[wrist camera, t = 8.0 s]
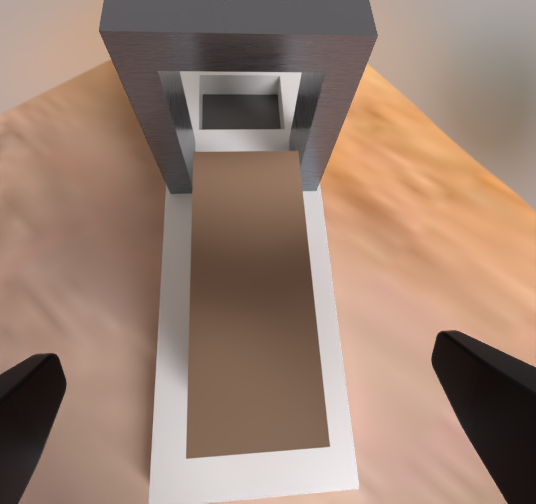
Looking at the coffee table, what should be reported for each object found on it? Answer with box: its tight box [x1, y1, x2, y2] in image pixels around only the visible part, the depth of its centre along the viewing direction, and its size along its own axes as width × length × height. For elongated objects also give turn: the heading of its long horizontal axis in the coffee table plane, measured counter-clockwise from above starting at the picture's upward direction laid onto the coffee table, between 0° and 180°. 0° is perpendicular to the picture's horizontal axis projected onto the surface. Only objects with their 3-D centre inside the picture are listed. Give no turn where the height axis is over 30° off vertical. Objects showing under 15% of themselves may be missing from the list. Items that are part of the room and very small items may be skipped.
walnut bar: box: [186, 151, 330, 459], centre depth 14 cm, size 10×4×8 cm, turn 3°
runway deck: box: [149, 71, 359, 504], centre depth 21 cm, size 28×10×2 cm, turn 3°
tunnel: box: [99, 0, 378, 194], centre depth 16 cm, size 4×9×10 cm, turn 93°
